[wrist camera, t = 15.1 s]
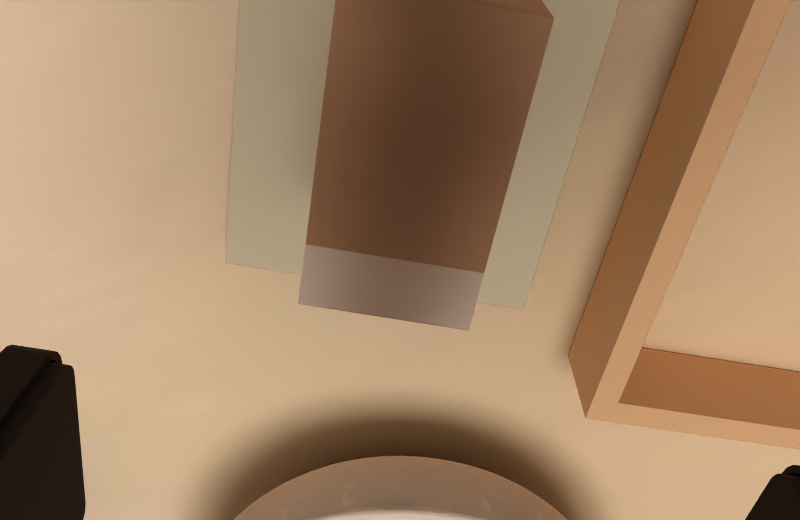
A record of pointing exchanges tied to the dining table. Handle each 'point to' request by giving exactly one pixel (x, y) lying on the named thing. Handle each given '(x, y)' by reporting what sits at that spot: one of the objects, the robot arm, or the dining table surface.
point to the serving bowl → (399, 493)
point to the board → (300, 123)
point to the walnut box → (417, 152)
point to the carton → (663, 246)
